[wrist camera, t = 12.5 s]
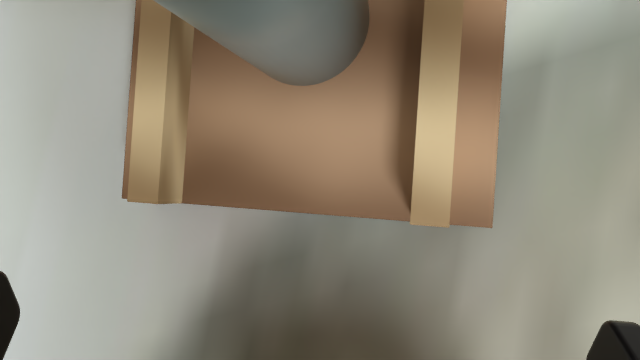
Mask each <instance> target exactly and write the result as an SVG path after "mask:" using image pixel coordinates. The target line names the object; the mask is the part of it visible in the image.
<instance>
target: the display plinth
mask: <svg viewBox="0 0 640 360" xmlns="http://www.w3.org/2000/svg"><path fill="white" fill-rule="evenodd" d="M368 4H369V12H370V19H369V28H368V33H367V36H366V39H365V42H364V44H363V46H362V48H361V50H360V52H359V53H358V55H357V57H356V58H355V59H354V60H353V62H352V63H351V64H350V65H349V66H348V67H347V68H346V69H345V70H344V71H342V72H341V73H339V74H338V75H337V76H335V77H333V78H331V79H330V80H327V81H325V82H322V83H319V84H315V85H308V86H295V85H288V84H285V83H282V82H279V81H277V80H275V79H273V78H271V77H270V76H268V75H267V74H265V73H264V72H262V71H260V70H259V69H257V68H256V67H254V66H253V65H251V64H250V63H248V62H247V61H245V60H244V59H242V58H241V57H239V56H238V55H236V54H235V53H233V52H231V51H230V50H228V49H227V48H225V47H224V46H222V45H221V44H219V43H218V42H216V41H215V40H213V39H212V38H210V37H209V36H207V35H205V34H204V33H202V32H201V31H199V30H198V29H196V28H195V27H193V26H192V25H190V24H189V23H187V22H186V21H184V20H183V19H181V18H180V17H178V16H176V15H175V14H173V13H172V12H170V11H169V10H167V9H166V8H164V7H163V6H161V5H160V4H158V3H157V2H155V1H154V0H136V8H135V22H134V36H133V50H132V64H131V78H130V92H129V106H128V119H127V133H126V147H125V161H124V175H123V189H122V198H123V199H127V201H128V202H140V203H152V204H172V203H186V204H198V205H211V206H223V207H236V208H248V209H261V210H273V211H286V212H299V213H311V214H324V215H336V216H349V217H361V218H374V219H386V220H399V221H410V224H412V225H424V226H437V227H449V225H462V226H474V227H487V228H492V224H493V208H494V192H495V177H496V161H497V145H498V129H499V114H500V98H501V82H502V67H503V51H504V35H505V20H506V4H507V0H368Z"/></svg>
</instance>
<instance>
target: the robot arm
mask: <svg viewBox="0 0 640 360" xmlns="http://www.w3.org/2000/svg"><path fill="white" fill-rule="evenodd" d="M19 317H20V307H19V304H18V302H17V299H16V297H15V294H14V292H13V290H12V287H11V285H10V283H9V280H8V278H7V276H6V275H5V274H4V273H3V272H2V271H0V360H3V358H4V355H5V353H6V351H7V348H8V346H9V343H10V341H11V339H12V336H13V334H14V331H15V329H16V327H17V324H18V321H19ZM586 360H640V326H639V325H638V324H636V323H633V322H624V321H612V320H610V321H606V322H605V323H603V325H602V326H601V328H600V330H599V332H598V334H597V336H596V338H595V340H594V342H593V344H592V346H591V348H590V351H589V353H588V355H587V359H586Z"/></svg>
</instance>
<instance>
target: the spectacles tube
mask: <svg viewBox="0 0 640 360" xmlns="http://www.w3.org/2000/svg"><path fill="white" fill-rule="evenodd" d="M154 1H155V2H157V3H158V4H160V5H161V6H163V7H164V8H166V9H167V10H169V11H170V12H172V13H173V14H175V15H176V16H178V17H180V18H181V19H183V20H184V21H186V22H187V23H189V24H190V25H192V26H193V27H195V28H196V29H198V30H199V31H201V32H202V33H204V34H205V35H207V36H209V37H210V38H212V39H213V40H215V41H216V42H218V43H219V44H221V45H222V46H224V47H225V48H227V49H228V50H230V51H231V52H233V53H235V54H236V55H238V56H239V57H241V58H242V59H244V60H245V61H247V62H248V63H250V64H251V65H253V66H254V67H256V68H257V69H259V70H260V71H262V72H264V73H265V74H267V75H268V76H270V77H271V78H273V79H275V80H277V81H279V82H282V83H285V84H288V85H295V86H308V85H315V84H319V83H322V82H325V81H327V80H330V79H331V78H333V77H335V76H337V75H338V74H339V73H341V72H342V71H344V70H345V69H346V68H347V67H348V66H349V65H350V64H351V63H352V62H353V60H354V59H355V58H356V57H357V55H358V53H359V52H360V50H361V48H362V46H363V44H364V42H365V39H366V36H367V33H368V28H369V19H370V12H369V4H368V0H154Z"/></svg>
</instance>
